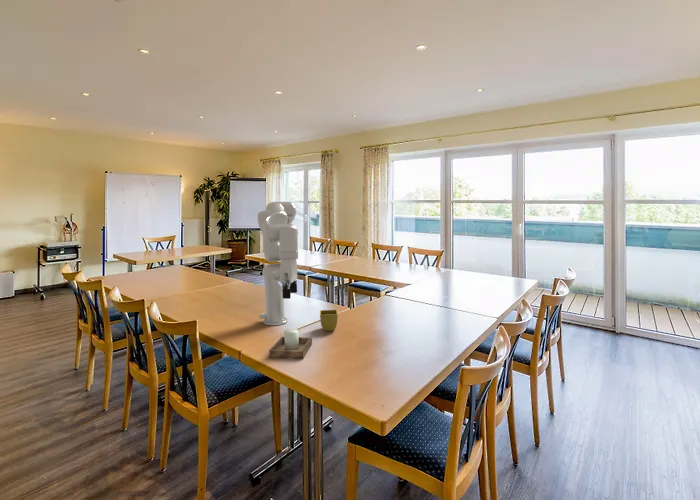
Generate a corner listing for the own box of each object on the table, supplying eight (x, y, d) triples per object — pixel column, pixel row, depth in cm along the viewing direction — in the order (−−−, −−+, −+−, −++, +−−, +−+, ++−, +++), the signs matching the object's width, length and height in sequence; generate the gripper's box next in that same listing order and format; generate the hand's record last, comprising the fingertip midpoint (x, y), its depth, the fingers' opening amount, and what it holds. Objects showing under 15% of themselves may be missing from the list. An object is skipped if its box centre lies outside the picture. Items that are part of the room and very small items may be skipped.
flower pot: (320, 327, 181) (319, 310, 180) (337, 326, 182) (336, 309, 181) (320, 332, 172) (319, 315, 171) (338, 332, 173) (337, 314, 172)
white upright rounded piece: (283, 351, 148) (282, 333, 147) (287, 346, 154) (286, 328, 153) (296, 352, 147) (296, 333, 147) (300, 346, 153) (299, 328, 152)
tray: (269, 357, 144) (269, 350, 143) (281, 343, 160) (281, 336, 159) (303, 359, 142) (302, 351, 142) (312, 344, 158) (311, 337, 158)
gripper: (286, 252, 155) (287, 290, 157) (273, 258, 138) (274, 300, 140) (303, 252, 154) (304, 290, 156) (291, 258, 137) (293, 301, 139)
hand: (290, 295), depth 148 cm, fingers open, 9 cm apart
